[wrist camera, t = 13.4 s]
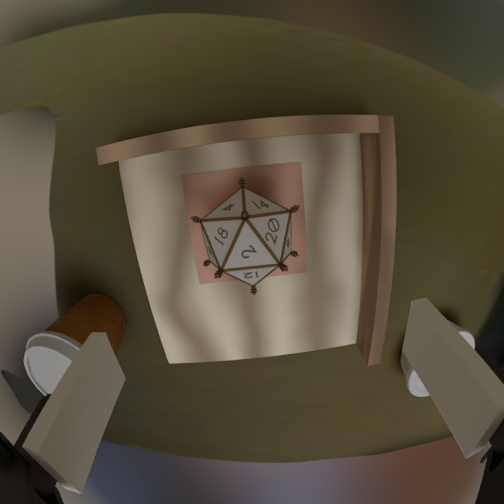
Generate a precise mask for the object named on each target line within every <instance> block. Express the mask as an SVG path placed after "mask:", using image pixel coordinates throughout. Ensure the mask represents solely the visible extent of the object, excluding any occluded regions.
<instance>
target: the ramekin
mask: <svg viewBox="0 0 504 504" xmlns="http://www.w3.org/2000/svg"><path fill="white" fill-rule="evenodd" d="M448 321H449V320H448ZM449 322H450V323H451V325H452V326H453V327H454V328H455V329H456V330H457V331H458V332H459V333H460V334H461V335H462V336H463V338H464V339H465V340H466V341H467V342H468V343H469V344H470V345H471V346H472V348H473V349H474V347H475V342H474V338H473V336H472V334H471V333H470V332H469V331H467V330H466V329H463V328H460V327H459V326H457V325H456V324H454V323H452V322H451V321H449ZM401 367H402V370H403V372H404V375H405V378H406V384H407V387H408V389H409V391H410V392H411V393H412V394H413V395H415V396H417V397H425V396H430V395H429V393H428V391H427V390H426V388H425V386H424V385H423V383H422V382H421V380H420V378H419V377H418V375H417V374H416V372H415V370H414V369H413V367H412V366H411V364H410V362H409V361H408V359H407V358H406V356H405V355H404V353H403V352H402V355H401Z"/></svg>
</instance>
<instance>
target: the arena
mask: <svg viewBox="0 0 504 504" xmlns="http://www.w3.org/2000/svg"><path fill="white" fill-rule="evenodd" d="M96 152H97V159H98V165H102V164H107V163H112V162H116V161H118V162H119V169H120V175H121V181H122V187H123V192H124V198H125V203H126V208H127V213H128V218H129V223H130V227H131V232H132V236H133V241H134V245H135V249H136V254H137V258H138V262H139V266H140V270H141V274H142V277H143V281H144V285H145V288H146V292H147V296H148V299H149V303H150V306H151V309H152V313H153V316H154V319H155V323H156V326H157V329H158V332H159V335H160V338H161V341H162V344H163V347H164V350H165V353H166V356H167V359H168V362H169V363H193V362H211V361H225V360H238V359H249V358H259V357H268V356H277V355H285V354H292V353H300V352H307V351H313V350H320V349H326V348H332V347H338V346H344V345H349V344H355V343H356V344H357V346H358V348H359V350H360V352H361V354H362V356H363V358H364V360H365V362H366V364H367V366H371V365H375V364H380V360H381V354H382V349H383V343H384V338H385V331H386V325H387V318H388V311H389V304H390V295H391V287H392V277H393V266H394V253H395V236H396V208H397V174H396V146H395V130H394V118H393V116H385V115H303V116H285V117H271V118H259V119H249V120H239V121H231V122H223V123H215V124H208V125H201V126H195V127H189V128H183V129H177V130H172V131H167V132H161V133H156V134H152V135H147V136H142V137H138V138H133V139H129V140H125V141H121V142H117V143H113V144H109V145H105V146H101V147H98V148H96ZM241 176H242V177H243V179H244V180H246V181H245V183H246V184H245V188H247V189H249V190H251V191H254V192H256V193H258V194H260V195H262V196H264V197H266V198H268V199H270V200H272V201H273V202H275V203H277V204H279V205H281V206H283V207H285V208H287V209H291V207H293V206H294V205H300V207H299V209H298V211H296V213H295V212H294V213H292V214H291V217H292V239H291V251H297V253H298V255H299V256H297V257H293V256H291V255H289V256H288V258H287V259H286V260H285V261H284V262H283V263H284V264H285V265H287V266H288V271H283V272H282V270H280V267H278V268H277V269H276V270H275V271H273V272H272V273H271V274H269V275H268V276H267V277H266V278H264V279H263V280H262V281H261V282H259V283H258V284H257V285H255V287H256V288H257V289H256V290H257V292H256V294H255V296H254V295H253V294H252V293H251V290H250V289H251V286H250V285H248V284H246V283H244V282H241V281H239V280H237V279H235V278H233V277H231V276H229V275H227V274H224V273H222V276H221V278H217V279H215V275H214V274H215V272H216V271H217V270H218V269H217V268H216V267H215V266H214V265H213V264H212V263H210V265H208V266H207V267H206V266H203V263H204V261H206V260H209V258H208V254H207V250H206V246H205V241H204V237H203V233H202V228H201V224H200V223H196V222H193V221H192V219H191V218H190V217H193V216H196V217H199V218H200V219H202V218H203V217H205V216H206V215H207V214H208V213H210V212H211V211H212V210H213V209H214V208H216V207H217V206H218V205H219V204H221V203H222V202H223V201H224V200H226V199H227V198H228V197H229V196H231V195H232V194H233V193H234V192H236V191H237V190H238V189H239V188H240V185H239V182H238V181H239V180H240V178H241Z"/></svg>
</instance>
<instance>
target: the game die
mask: <svg viewBox="0 0 504 504" xmlns="http://www.w3.org/2000/svg"><path fill="white" fill-rule="evenodd" d="M245 181H246V180H244V179H243V177H242V176H241V178H240V180H239V181H238V182H239V185H240V188H239V189H238V190H237V191H236V192H234V193H233V194H232V195H231V196H229V197H228V198H227V199H226V200H224V201H223V202H222V203H221V204H219V205H218V206H217V207H216V208H214V209H213V210H212V211H211V212H210V213H208V214H207V215H206V216H205V217H203V218H202V219H200V218H199V217H196V216H193V217H190V218H191V219H192V221H193V222H196V223H200V224H201V228H202V233H203V237H204V241H205V246H206V250H207V254H208V258H209V260H206V261H204V263H203V266H206V267H207V266H208V265H210V263H212V264H213V265H214V266H215V267H216V268H217V269H218V270H217V271H216V272H215V274H214V275H215V279H217V278H221V276H222V273H224V274H227V275H229V276H231V277H233V278H235V279H237V280H239V281H241V282H244V283H246V284H248V285H250V286H251V289H250V290H251V293H252V294H253V295H254V296H255V294H256V292H257V290H256V289H257V288H256V287H255V285H257V284H258V283H259V282H261V281H262V280H263V279H264V278H266V277H267V276H268V275H269V274H271V273H272V272H273V271H275V270H276V269H277V268H278V267H280V270H282V272H283V271H288V266H287V265H285V264H284V263H283V262H284V261H285V260H286V259H287V258H288V256H289V255H291V256H293V257H297V256H299V255H298V253H297V251H291V239H292V217H291V214H292V213H294V212H295V213H296V211H298V209H299V207H300V205H294V206H293V207H291V209H287V208H285V207H283V206H281V205H279V204H277V203H275V202H273V201H272V200H270V199H268V198H266V197H264V196H262V195H260V194H258V193H256V192H254V191H251V190H249V189H247V188H245V184H246V183H245Z"/></svg>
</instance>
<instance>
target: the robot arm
mask: <svg viewBox="0 0 504 504" xmlns="http://www.w3.org/2000/svg"><path fill="white" fill-rule="evenodd" d="M402 352H403V353H404V355H405V356H406V358H407V359H408V361H409V362H410V364H411V366H412V367H413V369H414V370H415V372H416V374H417V375H418V377H419V378H420V380H421V382H422V383H423V385H424V386H425V388H426V390H427V391H428V393H429V395H430V396H431V398H432V400H433V401H434V403H435V405H436V406H437V408H438V410H439V411H440V413H441V415H442V417H443V418H444V420H445V422H446V424H447V425H448V427H449V429H450V431H451V432H452V434H453V436H454V438H455V440H456V442H457V443H458V445H459V447H460V449H461V451H462V453H463V455H464V456H465V458H468V457H470V456H472V455H474V454H476V453H477V452H479V451H481V450H482V449H483V448H484V446H485V445H486V443H487V442H488V441H489V442H490V444H491V445H492V446H491V448H490V449H489V450H488V451H487V453H486V454H485V455H484V456H483V457H482V459H481V461H480V463H483V461H484V460H485V459H486V458H487V461H486V466H485V470H484V474H483V478H482V482H481V486H480V489H479V493H478V496H477V499H476V502H475V504H504V370H503V369H502V367H501V366H499V364H498V363H497V362H496V361H495V359H494V358H493V357H492V356H491V355H489V354H487V353H486V352H484V351H482V350H479V351H475V350H474V349H473V348H472V346H471V345H470V344H469V343H468V342H467V341H466V340H465V339H464V338H463V336H462V335H461V334H460V333H459V332H458V331H457V330H456V329H455V328H454V327H453V326H452V325H451V323H450V322H449V321H448V320H447V319H446V318H445V317H444V316H443V315H442V314H441V313H440V312H439V311H438V310H437V309H436V308H435V307H434V306H433V305H432V304H431V303H430V302H429V301H428V300H427V299H426V298H422V299H417V300H412V301H411V306H410V312H409V317H408V323H407V328H406V333H405V338H404V343H403V348H402ZM125 379H126V378H125V376H124V374H123V372H122V370H121V367H120V365H119V363H118V361H117V358H116V356H115V354H114V352H113V349H112V347H111V344H110V342H109V340H108V337H107V335H106V332H91V334H90V335H89V337H88V338H87V340H86V341H85V343H84V344H83V346H82V347H81V349H80V350H79V352H78V353H77V355H76V356H75V358H74V359H73V361H72V362H71V364H70V365H69V367H68V369H67V370H66V372H65V373H64V375H63V376H62V378H61V380H60V381H59V383H58V384H57V386H56V388H55V389H54V391H53V393H52V394H47V395H46V396H45V397H44V398H43V399H42V400H41V401H40V402H39V403H38V405H37V407H36V408H35V410H34V412H33V413H32V415H31V417H30V420H28V422H27V424H26V426H25V427H24V429H23V431H22V432H21V434H20V436H19V438H18V440H17V441H16V443H15V445H14V446H13V445H12V444H11V443H10V442H9V440H8V439H7V438H6V437H5V436H4V435H3V434H2V433H1V432H0V504H64V503H63V501H62V498H61V496H60V493H59V491H58V489H57V488H56V487H55V485H56V482H58V483H60V484H61V485H62V486H63V487H64V488H65V489H68V490H71V491H74V492H77V493H80V494H81V493H82V491H83V488H84V485H85V482H86V480H87V476H88V474H89V471H90V468H91V465H92V462H93V460H94V457H95V454H96V451H97V449H98V446H99V443H100V441H101V438H102V436H103V433H104V430H105V428H106V425H107V423H108V420H109V418H110V415H111V413H112V410H113V408H114V405H115V403H116V400H117V398H118V395H119V393H120V391H121V388H122V386H123V384H124V381H125Z"/></svg>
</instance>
